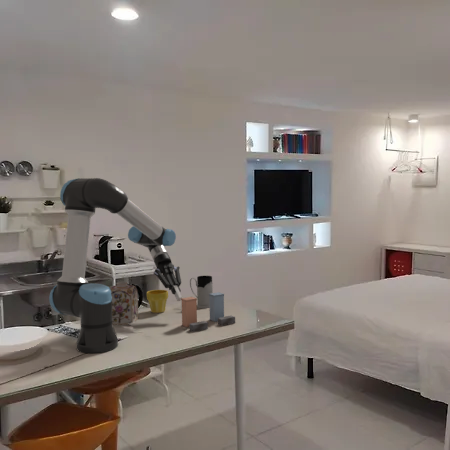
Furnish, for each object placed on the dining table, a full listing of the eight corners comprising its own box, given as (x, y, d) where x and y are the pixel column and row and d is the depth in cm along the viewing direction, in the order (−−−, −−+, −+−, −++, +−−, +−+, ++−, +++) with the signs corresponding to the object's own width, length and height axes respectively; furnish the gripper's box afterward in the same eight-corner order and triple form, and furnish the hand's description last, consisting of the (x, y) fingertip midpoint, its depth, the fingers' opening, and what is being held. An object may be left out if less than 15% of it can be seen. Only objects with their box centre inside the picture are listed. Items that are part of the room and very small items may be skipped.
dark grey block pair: (188, 336, 192) (188, 326, 191) (172, 328, 203) (171, 319, 203) (240, 325, 206) (240, 316, 206) (222, 318, 218) (222, 309, 218)
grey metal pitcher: (206, 309, 235) (205, 279, 234) (184, 305, 243) (184, 276, 242) (217, 305, 242) (216, 276, 240) (196, 301, 250) (195, 273, 249)
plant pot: (147, 309, 237) (147, 289, 236) (168, 308, 238) (168, 289, 237) (146, 314, 226) (146, 294, 226) (168, 313, 227) (168, 293, 227)
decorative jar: (138, 318, 220) (137, 279, 219) (133, 325, 209) (131, 285, 207) (113, 318, 221) (111, 280, 219) (106, 325, 209) (104, 285, 208)
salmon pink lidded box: (186, 327, 200) (186, 300, 199) (181, 325, 203) (181, 298, 202) (197, 325, 202) (196, 298, 202) (192, 323, 206) (191, 296, 205)
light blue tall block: (214, 321, 207) (214, 295, 207) (209, 319, 211) (209, 293, 210) (224, 319, 210) (224, 293, 209) (219, 317, 214) (218, 292, 213)
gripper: (170, 260, 229) (189, 301, 217) (146, 264, 222) (164, 306, 210) (175, 251, 224) (195, 292, 212) (150, 253, 217) (169, 296, 205)
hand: (179, 299), depth 211 cm, fingers closed
